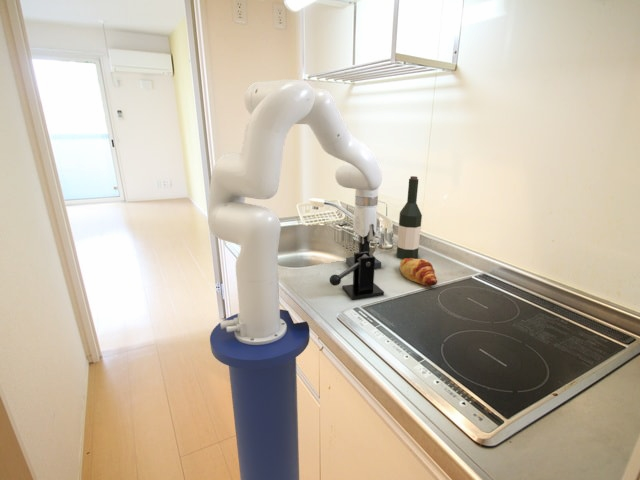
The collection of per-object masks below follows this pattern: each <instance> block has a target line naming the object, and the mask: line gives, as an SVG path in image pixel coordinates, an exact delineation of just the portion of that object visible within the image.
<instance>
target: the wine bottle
mask: <svg viewBox="0 0 640 480" xmlns="http://www.w3.org/2000/svg"><path fill="white" fill-rule="evenodd" d="M407 187H408V189H407V200H406V203H405V205H403V207H402V209H401V210H400V211H399V217H398V230H397V244H396V258H397V259H399V260H401V261H402V260H403V259H406V258H407V259H408V258H413V259H419V249H420V238H421V228H422V219H423V214H422V212H421V209H420V208H419V206H418V204H417V199H418V189H419V178H418V176H417V175H416V176H413V175H411V176H410V177H409V178H408V186H407Z"/></svg>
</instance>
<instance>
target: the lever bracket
mask: <svg viewBox="0 0 640 480" xmlns="http://www.w3.org/2000/svg"><path fill="white" fill-rule="evenodd" d="M369 253H370V251H369V252H359V251H358V252H354V253H353V257H354V264H356V263H357V262H358V260H357V259H358V258H359V257H360V258H359V267H358V268H357V269H355V270H354V271H352V284H351V283H350V284H345V285H341V287H342V288H341V289H342V291H343V292H344V293H345V294H346V295H347V297H348V298H349V299H350V300H351V301H357V300H365V299H370V298H377V297H384V296H385V291H384V290H382V289H381V288H380V286H378V285H377V284H376V283H374V282H375V269H374V266H375V258H376V256H375V255H373V256H369ZM364 254H366V255H367V256H368V257H361V256H362V255H364Z"/></svg>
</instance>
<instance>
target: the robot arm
mask: <svg viewBox="0 0 640 480" xmlns="http://www.w3.org/2000/svg"><path fill="white" fill-rule="evenodd" d="M244 105H245V108H246V110H247V112H248V113H249V116H248V117H249V118H248V119H247V123H246V125H245V129H244V135H243V141H242V148H241V152H227V153H224V154H223V155H221V156H220V157H219V158H218V159H217V160H216V162H215V163H214V165H213V167H212V171H211V175H210V185H209V186H210V187H209V195H208V196H209V197H208V209H207V224H208V227H209V230H210V232H211V234H212V235H213V236H214V237H216V238H217V239H219V240H221V241H225V242H227V243H232V244H235V245H238V246H240V249H239V252H238V253H239V254H238V256H237V258H236V261H235V277H236V287H237V288H236V289H237V299H238V313H237V314H238V317H237V318H234V320H225V319H224V320H225V321H223V320H220V322H219V323H220V324H221V329H225V328H226V329H227V332H232V331H234V332H235V337H236V338H237V340H239V341H240V342H242V343H245V344H249V345H264V344H269V343H272V342H275V341H277V340H279V339H280V338H282V337H283V336H284V335H285V333H286V331H287V325H286V323H285V321H284V320H282V319H281V318H280V309H281V307H280V306H281V305H280V286H279V260H278V257H279V245H280V238H281V233H282V227H281V226H282V225H281V221H280V219H279V217H278V215H277V214H276V213H275V212H274V211H273V210H271V209H269V208H267V207H265V206H261V205H257V204H252V203H246V202H245V200H246V198H248V199H254V200H269V199H272V198H273V197H275V195H276V194H277V193H278V190H279V187H280V181H281V172H282V165H283V157H284V148H285V143H286V139H287V136H288V134H289V132H290V131H291V129H292V128H293V126H294V125H307V126H309V128H310V130H311V131H312V133H313V134H314V136H315V138H316V139H317V141H318V143H319V145H320V147H321V148H322V150H323V152H325V153H326V154H328V155H330V156H331V157H334V158H336V159H338V160H341V161H343V162H344V163H342V164H340V165H339V166H338V167H337V168H336V171H335V174H334V176H335V181H336V183H337V184H338V185H339V186H341V187H342V188H346V189H353V190H354V193H355V194H354V208H353V209H354V210H353V216H352V217H353V219H352V231H353V232H354V233H356V234H357V235H358V252H369V253H370V244H371V242H374V237H376V236H377V228H378V227H377V226H378V217H377V216H378V213H377V212H378V211H377V207H378V205H379V204H378V203H379V187H380V186H381V184H382V181H383V173H382V169H381V166H380V163H379V161H378V159H377V156H376V155H375V153H374V152H373V151H372V150H371V149H370V147H368V146H367V145H366V144H365V143H364V142H362V141H361V140H360V139H358V138H357V137H356V136H355V135H353V134H352V133H351V132H350V131H349V129H348V125H347V124H346V122H345V120H344V118H343V115H342V114H341V112H340V110H339V108H338V105H337V103H336V101H335V99H334V97H333V95H332V94H331V92H329V91H328V90H326V89H324V88H321V87H312V86H311V85H310V84H309V82H307V81H305V80H302V79H298V78H297V79H295V78H291V79H289V78H288V79H277V80H261V81H256V82H253V83H251V84H250V85H249V86H248V87H247V89H246V91H245V93H244Z"/></svg>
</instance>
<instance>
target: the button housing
mask: <svg viewBox="0 0 640 480" xmlns="http://www.w3.org/2000/svg"><path fill="white" fill-rule="evenodd" d="M369 256H374V254H373V253H371V252H369ZM345 263H346V265H347V266H348V268H350V267H351V266H353V265H354V256H353V257H352V256H350V257H345ZM378 269H382V261H381V260H379V259H377V257H375V266H374V270H378Z"/></svg>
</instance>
